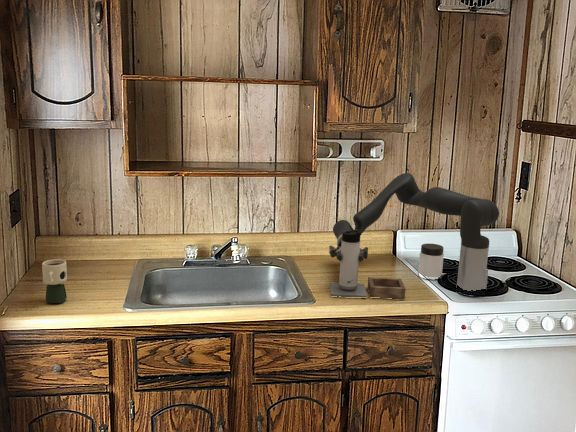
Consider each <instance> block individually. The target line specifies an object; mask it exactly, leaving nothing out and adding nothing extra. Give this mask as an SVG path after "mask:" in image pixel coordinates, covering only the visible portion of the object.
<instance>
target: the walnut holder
mask: <svg viewBox="0 0 576 432" xmlns="http://www.w3.org/2000/svg"><path fill="white" fill-rule="evenodd" d="M368 290H369V292H368V294H370V296H369V298H370V297H380V298H392V299H405V298H406V287H405V285H404V282H403V280H402V278H396V277H395V278H393V277H391V278H390V277H374V276H371V277H370V276H368V277H367V291H368ZM405 300H406V299H405Z"/></svg>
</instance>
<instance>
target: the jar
mask: <svg viewBox="0 0 576 432" xmlns="http://www.w3.org/2000/svg"><path fill="white" fill-rule="evenodd" d="M444 255H445V254H444V246H443V245H440V244H437V243H423V244H421V246H420V252H419V257H418V258H419V259H418V269H417V270H418V271H417V274H418V273H420V274H422V275H424V276H427V277H439V276H441V275H442V276H443V265H444V258H445V257H444Z"/></svg>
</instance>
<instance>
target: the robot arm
mask: <svg viewBox="0 0 576 432" xmlns="http://www.w3.org/2000/svg"><path fill="white" fill-rule="evenodd" d="M394 194H395V196H396V197H397V200H398V201H399V202H401V203H402V204H405V205H409V206H415V207H419V208H423V209H427V210H430V211H431V212H434V213H438V214H440V215H441V214H442V215H446V216H447V215H448V216H456V217H458V216H459V217H460V222H459V235H460V248H459V249H460V251H459V260H458V261H459V263H458V271H457V280H456V281H457V282H456V286H457V285H458V286H459V287H460V288H462V289H463V290H467V291H471V290H473V291H476V290H481V289H486V290H487V287H488V286H487V285H488V284H487V283H488V276H489V275H488V274H489V269H488V267H487V266H488V257H489V250H490V238H489V237H487V236H485V235H482V234H481V233H482V232H481V227H487V226H491V225H493V224H494V223H496V222H497V221H498V219H499V216H500V210H499V207H498V206H497V205H496V203H495V202H493V201H492V200H490V199H489V198H488V199H486V198H478V197H473V196H468V195H465V194H463V193H459V192H456V191H453V190H450V189H448V188H444V187H439V186H433V187H431V188H429V189H427V190H426V191H422V190H421V189H420V188H419V185H418V184H417V182H416V180H415V178H414V176H413V174H412V173H410V172H404V173H401V174H399V175H397V176H395V178H393V179H392V180H391V181H390V182H389V183H388V184H387V185H386V186H385V187H384V188H383V189H382V191H380V193H378V195H377V196H376V197H374V198H373V200H371V201H370V203H368V204H367V205H365V207H363V208H361V210H359V211H358V212H357V213H355V214H354V215H353V217H352V220H353V224H354V228H353V226H352V225H351V224H350V222H349V221H348V220H346V219H341V220H338V221H337V222H335V223H334V224H333V227H332V232H333V234H334V236H335V238H336V240H337V241H336V247H335V246H333V245H329V248H328V250H329V251H328V253H329V256H330V258H336V260H338V261H339V262H340V261H341V243H342V233H344V232H346V231H359V232H361V235H360V237H361V236H362V235H363V233H364V232H365V230H367V228H369V227H371V225H373V224H374V223H375V222H377V221H378V220H379V219H380V217H381V216H382V215H383V213H384V211H385V209H386V206H387V205H388V202H389V201H390V200H391V198H392V197H393V196H394ZM368 253H369V247H367V246H365V247H364V248H361V247H360V252H359V263H362V261H363V262H364V260H366V259H367V260H368V256H369V255H368Z"/></svg>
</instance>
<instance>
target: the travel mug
mask: <svg viewBox="0 0 576 432" xmlns="http://www.w3.org/2000/svg"><path fill="white" fill-rule="evenodd" d="M360 235H361V236H362V234H361V232H359V231H346V232H344V233H342V243H341V261H339V263H340V264H339V281H338V283H339V287H340V288H342V289H345V290H353V289H356V288H357V284H358V280H359V279H358V276H359V264H360V262H359V252H360V248H361V236H360Z"/></svg>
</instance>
